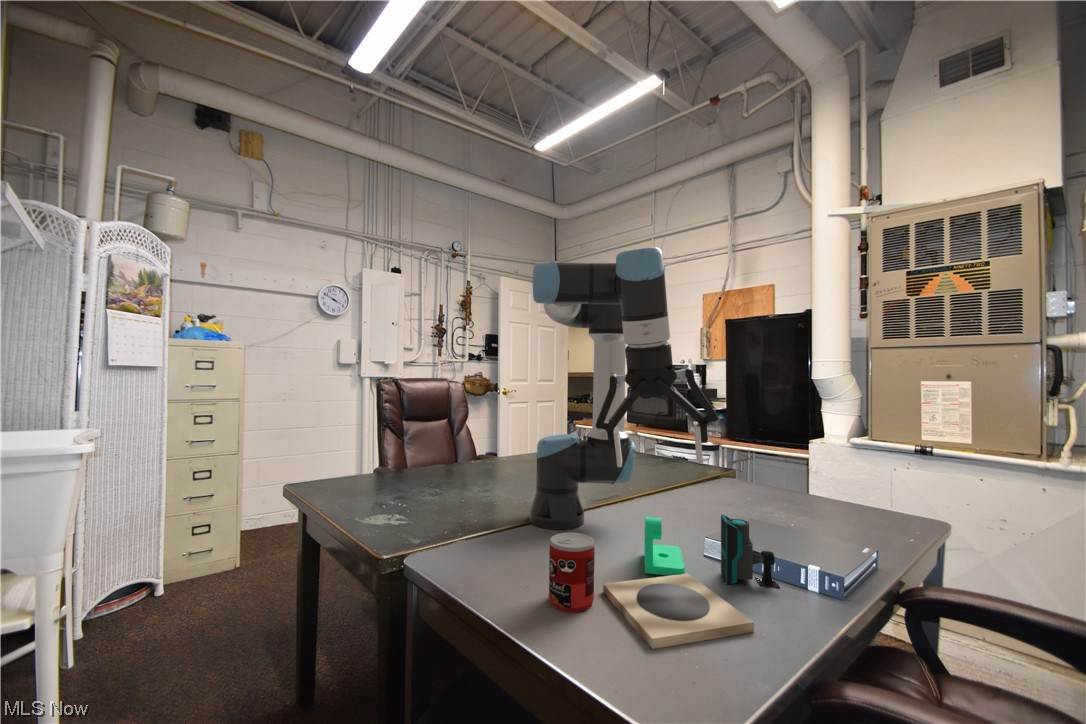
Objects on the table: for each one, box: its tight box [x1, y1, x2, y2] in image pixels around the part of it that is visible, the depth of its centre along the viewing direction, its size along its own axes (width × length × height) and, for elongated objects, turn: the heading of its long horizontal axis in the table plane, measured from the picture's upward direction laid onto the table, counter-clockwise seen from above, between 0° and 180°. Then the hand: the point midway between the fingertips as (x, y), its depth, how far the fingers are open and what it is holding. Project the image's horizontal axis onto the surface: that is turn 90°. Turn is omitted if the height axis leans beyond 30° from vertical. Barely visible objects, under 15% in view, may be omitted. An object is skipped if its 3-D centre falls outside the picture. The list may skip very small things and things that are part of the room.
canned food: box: [548, 532, 596, 613], centre depth 80 cm, size 8×8×11 cm
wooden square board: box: [602, 573, 755, 650], centre depth 78 cm, size 18×18×2 cm
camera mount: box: [644, 516, 685, 576], centre depth 96 cm, size 12×8×10 cm, turn 168°
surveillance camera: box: [720, 514, 781, 589], centre depth 90 cm, size 6×12×10 cm
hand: (659, 462), depth 79 cm, fingers open, 13 cm apart
